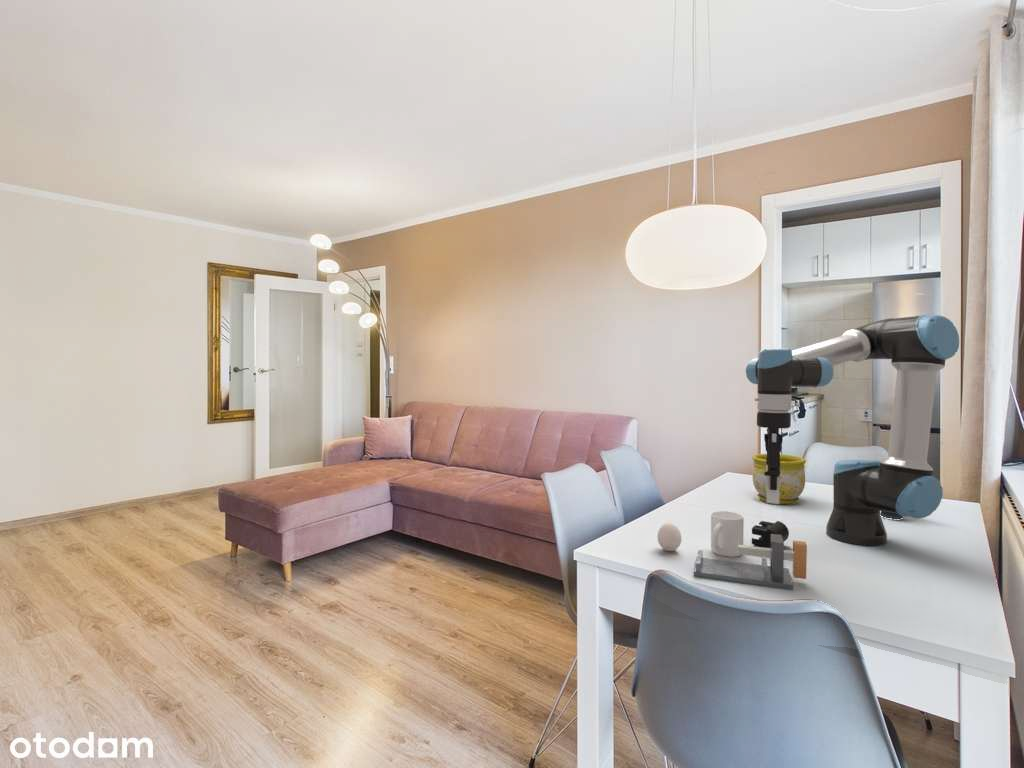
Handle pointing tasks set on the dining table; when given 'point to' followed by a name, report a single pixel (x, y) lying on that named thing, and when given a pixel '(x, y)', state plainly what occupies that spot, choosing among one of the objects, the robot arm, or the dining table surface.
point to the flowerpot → (781, 477)
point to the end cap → (768, 533)
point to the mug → (726, 533)
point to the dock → (748, 569)
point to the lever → (796, 556)
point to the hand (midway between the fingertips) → (772, 496)
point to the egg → (669, 536)
